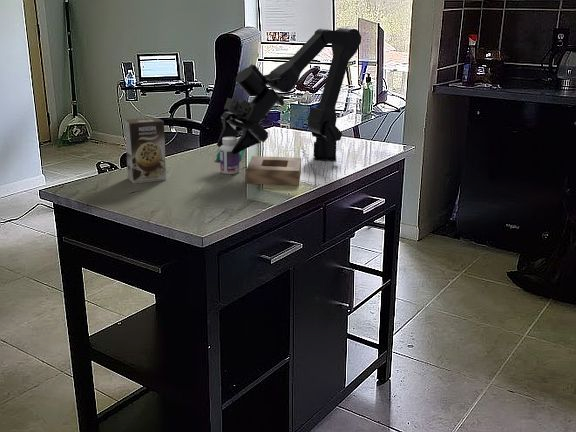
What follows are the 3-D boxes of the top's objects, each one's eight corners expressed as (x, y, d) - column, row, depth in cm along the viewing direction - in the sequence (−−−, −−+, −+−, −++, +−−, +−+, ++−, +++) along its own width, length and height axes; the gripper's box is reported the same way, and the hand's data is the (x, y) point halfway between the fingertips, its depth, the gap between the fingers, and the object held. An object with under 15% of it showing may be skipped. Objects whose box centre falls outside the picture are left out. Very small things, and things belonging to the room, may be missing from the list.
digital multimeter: (245, 151, 206) (245, 142, 205) (240, 162, 192) (240, 153, 191) (222, 150, 206) (222, 141, 205) (216, 162, 192) (216, 152, 191)
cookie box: (133, 184, 167) (129, 123, 162) (127, 178, 173) (123, 118, 167) (167, 180, 171) (164, 120, 166) (160, 174, 177) (157, 116, 171)
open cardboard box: (300, 171, 182) (301, 157, 181) (298, 185, 169) (299, 170, 168) (252, 169, 183) (252, 156, 182) (246, 183, 170) (246, 169, 169)
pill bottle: (242, 170, 182) (242, 136, 179) (234, 175, 177) (234, 140, 174) (225, 168, 184) (224, 135, 180) (217, 173, 179) (216, 139, 176)
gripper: (226, 83, 182) (191, 125, 180) (258, 92, 167) (221, 138, 165) (250, 108, 189) (217, 149, 187) (283, 119, 174) (248, 163, 172)
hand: (225, 149), depth 178 cm, fingers open, 9 cm apart
